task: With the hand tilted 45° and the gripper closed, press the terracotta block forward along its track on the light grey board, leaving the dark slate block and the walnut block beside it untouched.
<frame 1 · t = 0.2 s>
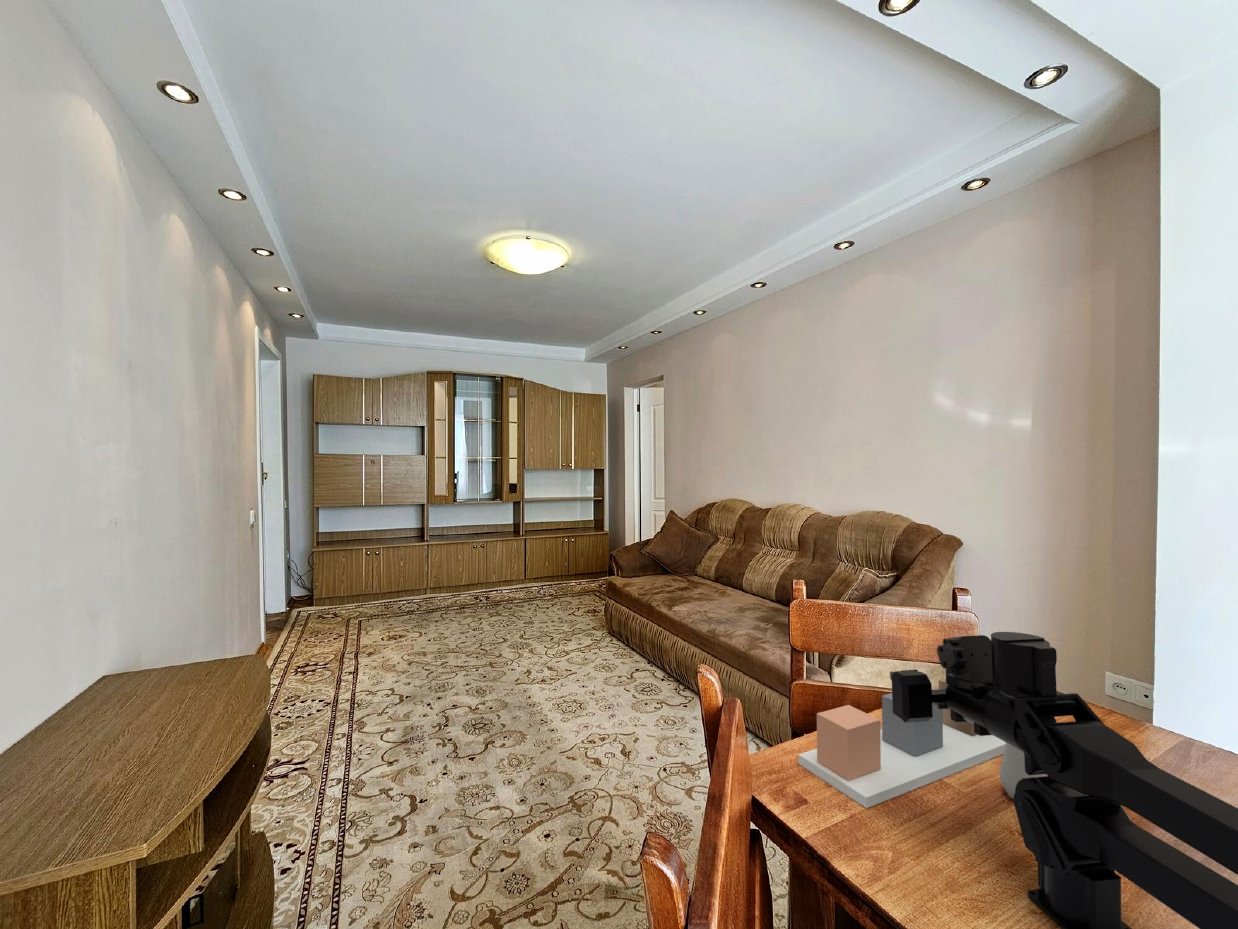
hand: (919, 673, 83), 17 cm above the table, tool horizontal, fingers open, 9 cm apart
salt shaker: (1023, 798, 79), on the table
walnut block: (967, 703, 98), point 5 cm above the table, slide at 0.0 cm
grey base board: (915, 754, 91), on the table
terracotta block: (848, 740, 85), point 5 cm above the table, slide at 0.0 cm
dark slate block: (912, 720, 92), point 5 cm above the table, slide at 0.0 cm
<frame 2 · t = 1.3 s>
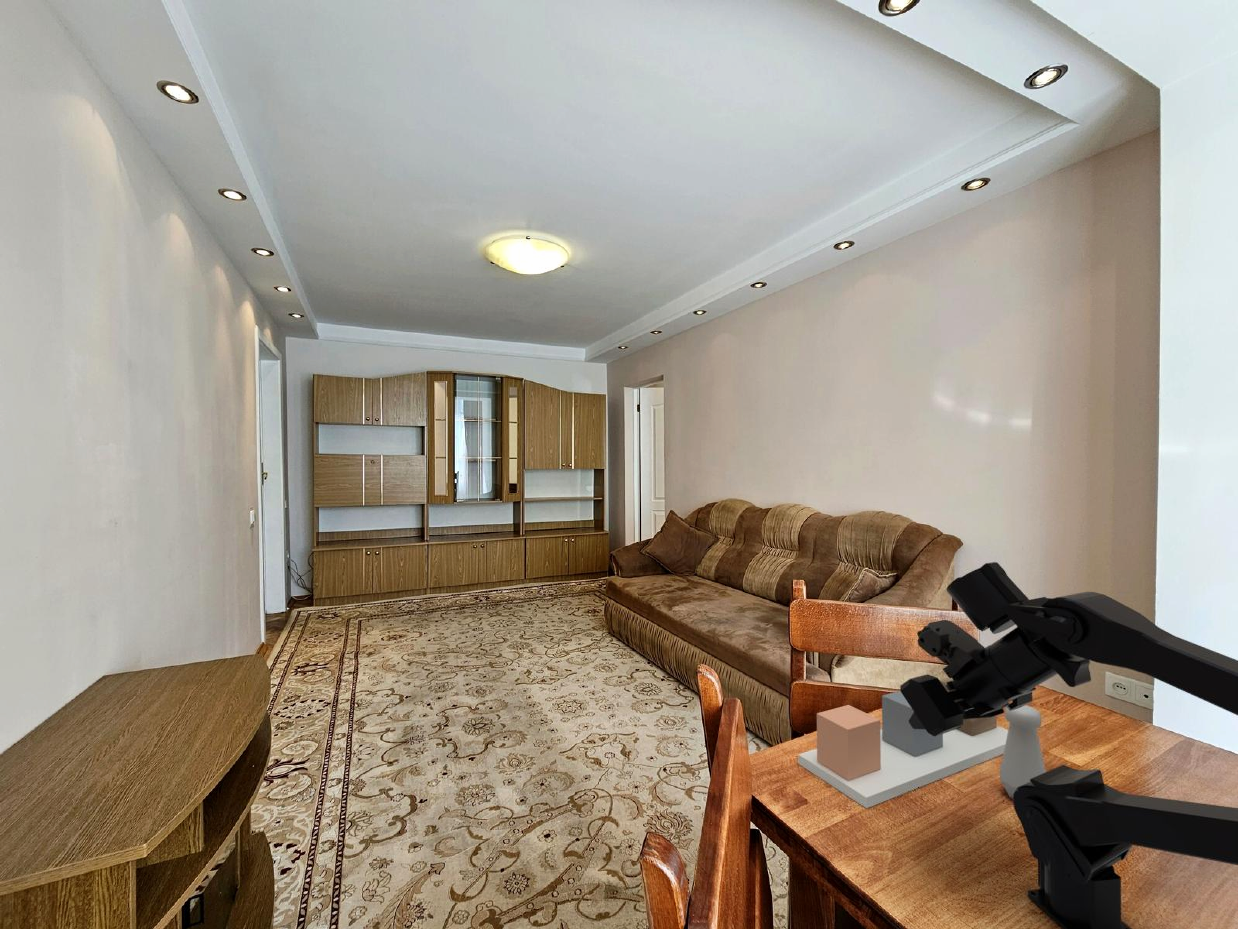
hand: (924, 721, 74), 14 cm above the table, tool tilted 45°, fingers open, 5 cm apart
nothing on the table moved.
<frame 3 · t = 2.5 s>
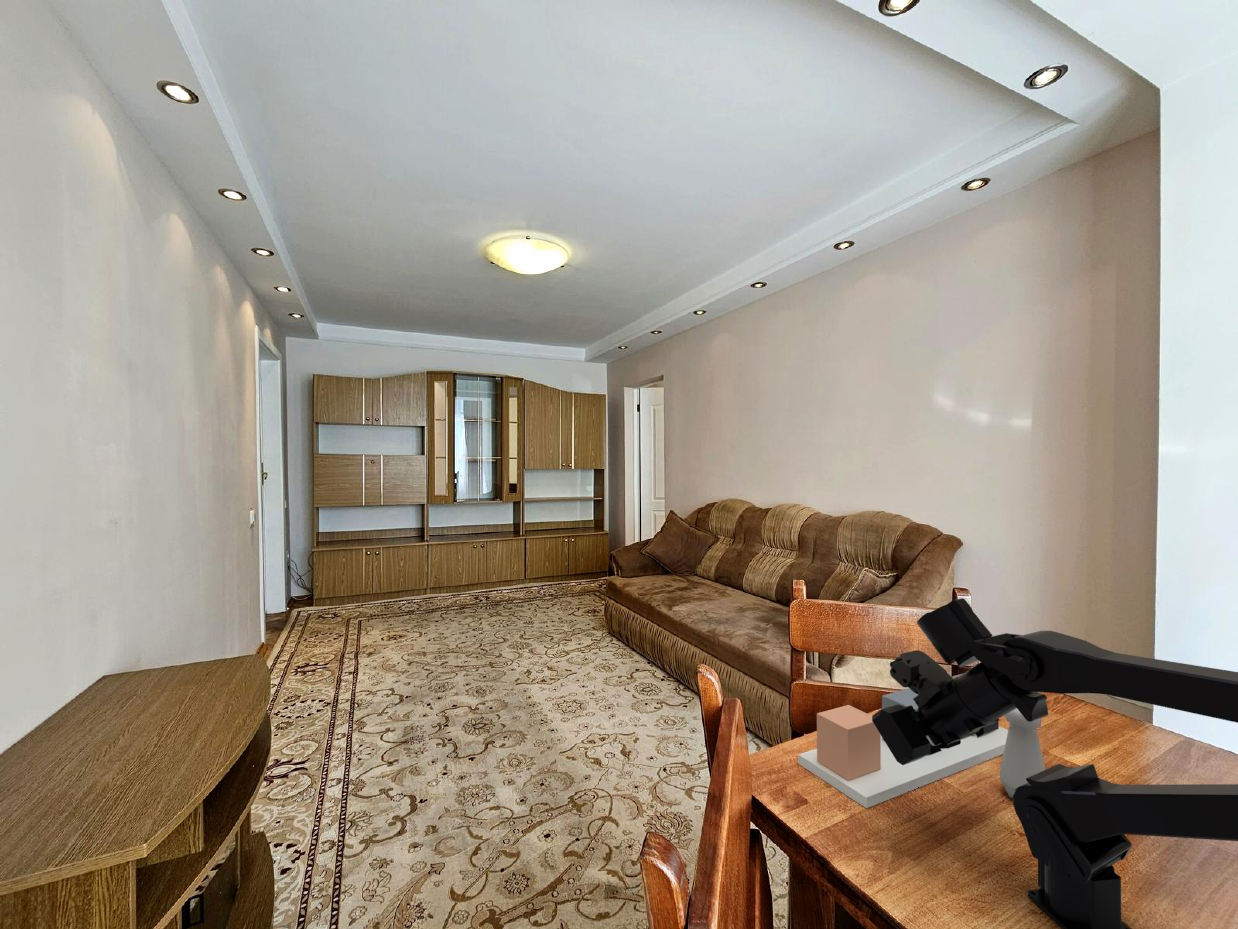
hand: (897, 746, 78), 8 cm above the table, tool tilted 45°, fingers closed
nothing on the table moved.
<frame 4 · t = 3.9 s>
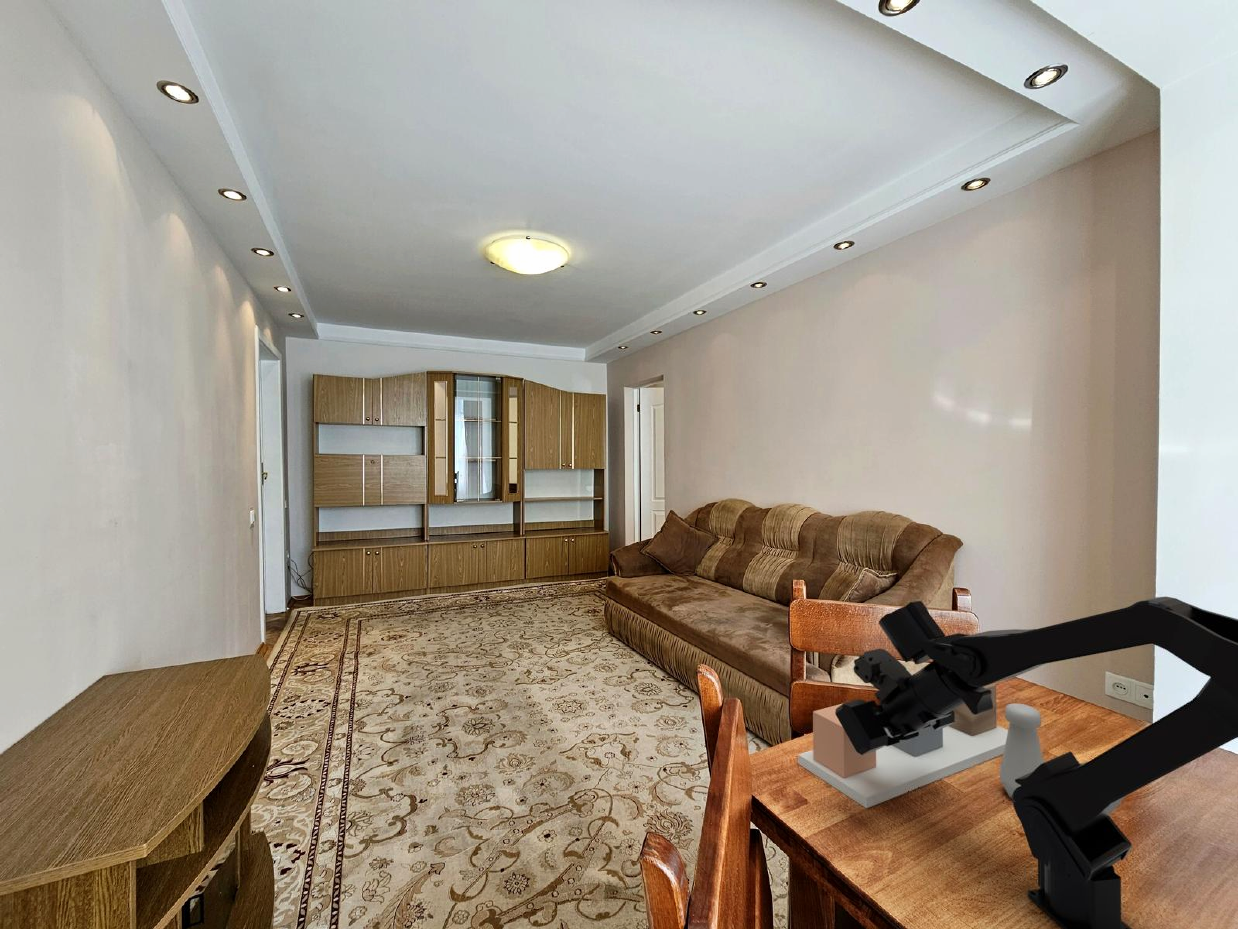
hand: (861, 738, 83), 7 cm above the table, tool tilted 45°, fingers closed, pressing on terracotta block
terracotta block: (844, 738, 86), point 5 cm above the table, slide at 0.8 cm, touching gripper
everything else where it was.
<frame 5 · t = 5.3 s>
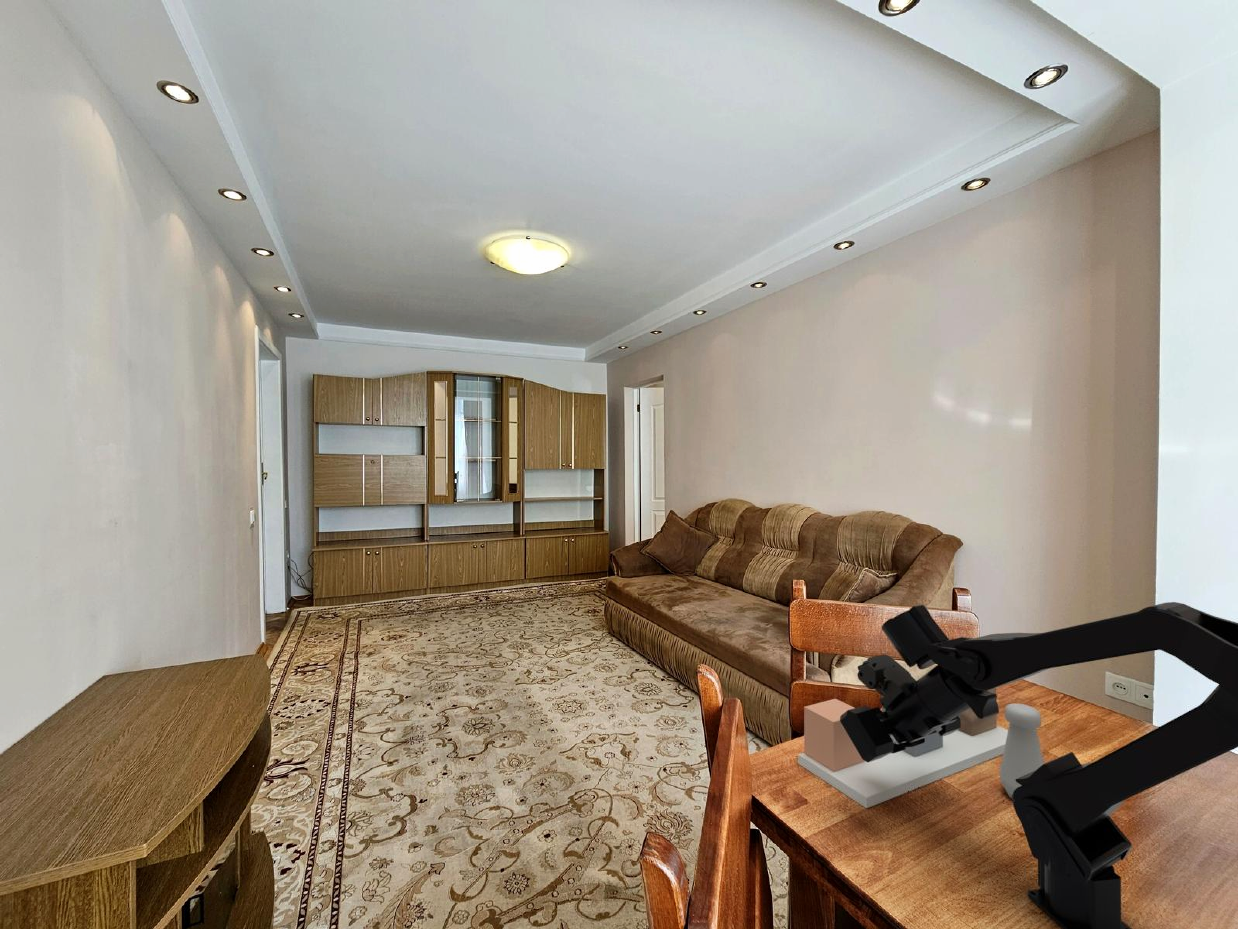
hand: (867, 746, 82), 6 cm above the table, tool tilted 45°, fingers closed
terracotta block: (834, 733, 88), point 5 cm above the table, slide at 2.7 cm
everything else where it was.
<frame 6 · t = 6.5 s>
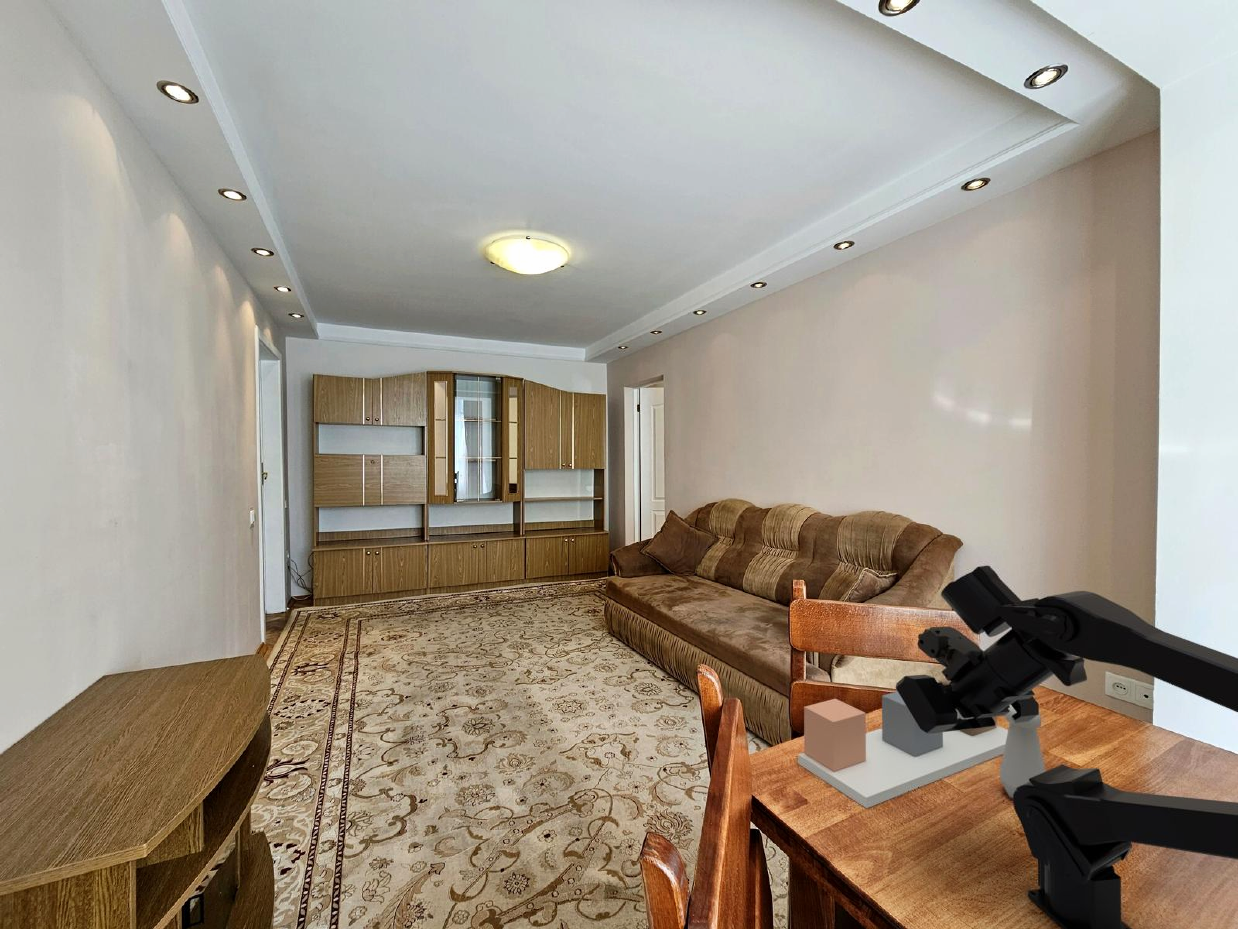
hand: (927, 729, 74), 13 cm above the table, tool tilted 40°, fingers closed
nothing on the table moved.
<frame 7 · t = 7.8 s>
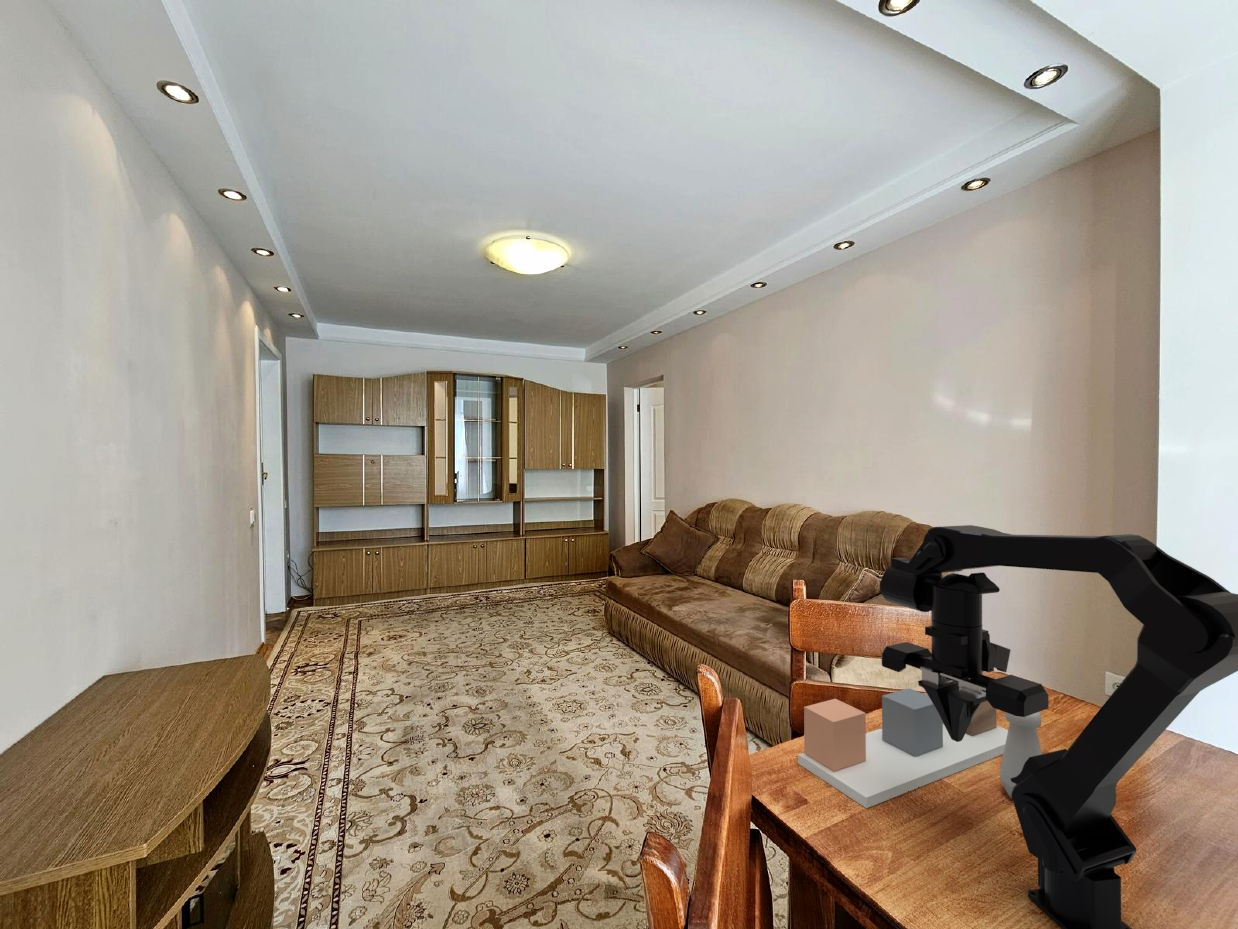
hand: (956, 740, 72), 12 cm above the table, tool pointing down, fingers closed
nothing on the table moved.
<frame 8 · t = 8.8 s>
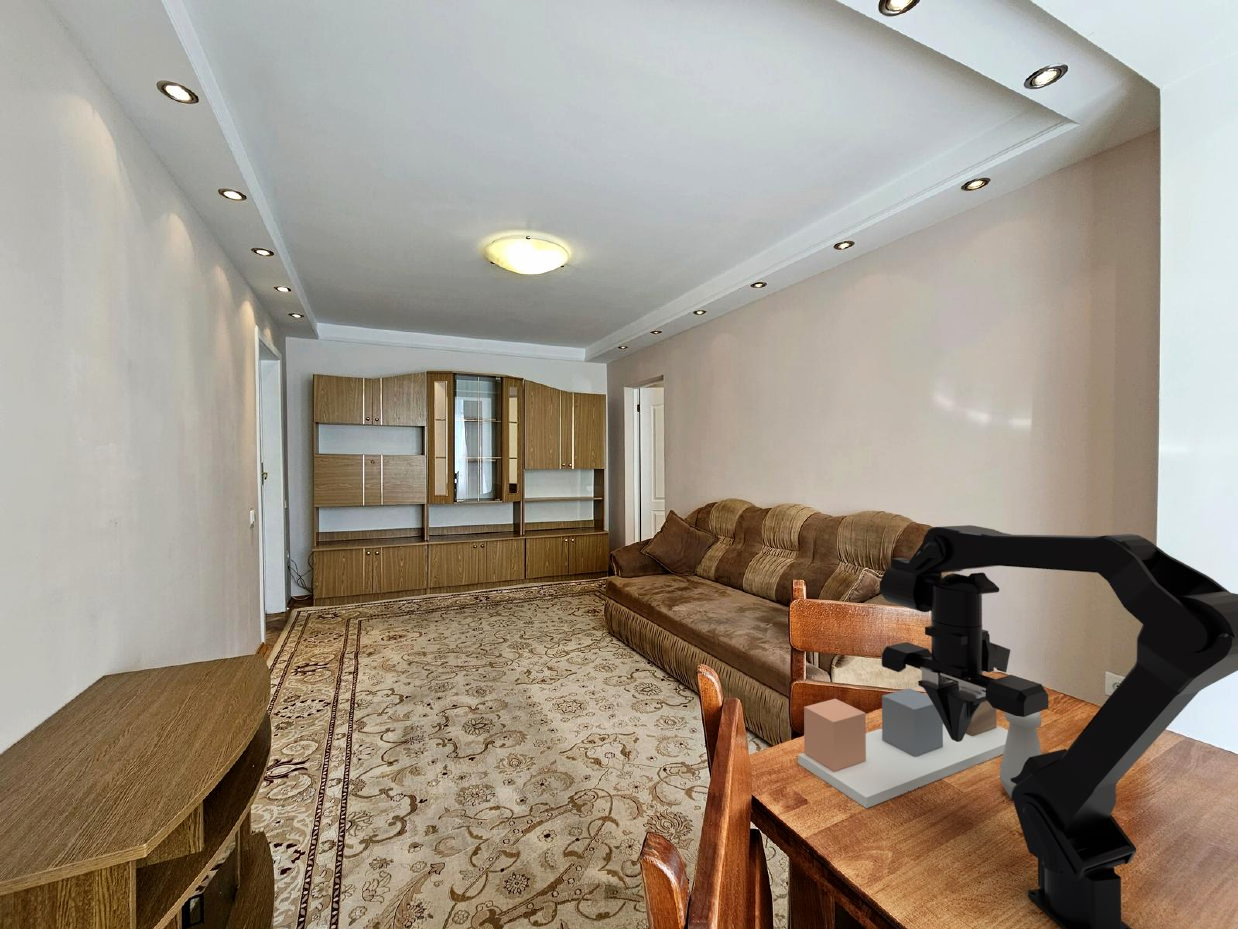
hand: (956, 740, 72), 12 cm above the table, tool pointing down, fingers closed
nothing on the table moved.
at the end: terracotta block slide at 2.7 cm; dark slate block slide at 0.0 cm; walnut block slide at 0.0 cm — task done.
